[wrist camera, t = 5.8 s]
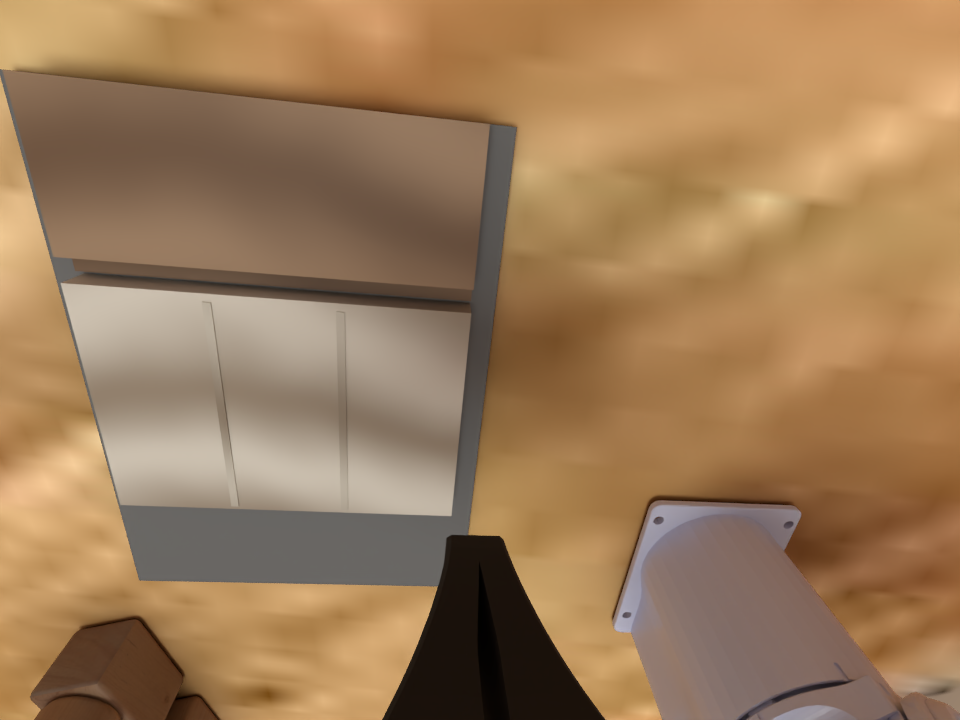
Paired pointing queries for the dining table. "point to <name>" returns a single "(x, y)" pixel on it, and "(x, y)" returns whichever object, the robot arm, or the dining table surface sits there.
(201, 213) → the laid plank
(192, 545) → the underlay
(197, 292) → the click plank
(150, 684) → the brown wooden upright frame
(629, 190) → the dining table surface
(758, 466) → the dining table surface
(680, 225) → the dining table surface
